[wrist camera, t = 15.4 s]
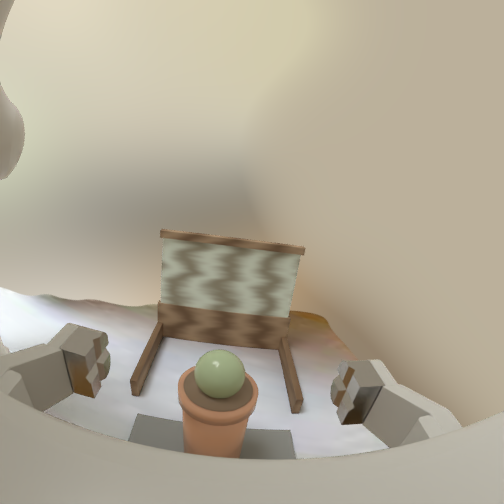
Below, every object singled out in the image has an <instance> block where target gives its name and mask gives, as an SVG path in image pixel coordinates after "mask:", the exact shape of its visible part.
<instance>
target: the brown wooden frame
mask: <svg viewBox="0 0 504 504" xmlns="http://www.w3.org/2000/svg"><path fill="white" fill-rule="evenodd" d="M160 237H161V238H163V252H162V274H161V275H162V276H161V301H159V302H158V323H157V325H156V327H155V329H154V331H153V333H152V335H151V337H150V339H149V341H148V343H147V345H146V347H145V349H144V351H143V353H142V355H141V358H140V360H139V362H138V364H137V366H136V368H135V370H134V373H133V375H132V377H131V379H130V384H131V391H132V395H134V396H139V394H140V392H141V389H142V387H143V384H144V381H145V379H146V376H147V374H148V371H149V369H150V366H151V364H152V362H153V359H154V357H155V354H156V352H157V349H158V347H159V345H160V342H161V340H162V337H163V336H165V337H171V338H178V339H184V340H191V341H198V342H206V343H214V344H223V345H232V346H241V347H252V348H264V349H277V350H279V355H280V360H281V364H282V369H283V374H284V379H285V383H286V388H287V393H288V397H289V402H290V407H291V412H292V413H299V411H300V408H301V405H302V402H303V396H302V392H301V388H300V385H299V381H298V377H297V374H296V370H295V366H294V363H293V359H292V355H291V352H290V348H289V344H288V341H287V333H288V328H289V324H290V319H291V318H290V316H288V315H289V310H290V305H291V301H292V296H293V291H294V286H295V281H296V276H297V271H298V266H299V261H300V256H301V255H304V252H305V248H304V247H302V246H295V245H288V244H280V243H272V242H265V241H257V240H248V239H241V238H233V237H224V236H217V235H209V234H200V233H192V232H184V231H175V230H167V229H162V230H161V231H160Z"/></svg>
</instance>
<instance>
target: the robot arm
mask: <svg viewBox="0 0 504 504" xmlns="http://www.w3.org/2000/svg"><path fill="white" fill-rule="evenodd" d="M13 2H14V0H0V38H1V35H2V31H3V28H4V25H5V22H6V20H7V17H8V14H9V12H10V9H11V7H12V5H13ZM24 136H25V133H24V123H23V120H22V117H21V114H20V113H19V111H18V109H17V107H16V106H15V105H14V104H13V103H12V102H11V101H10V100H9V99H8V97H7V96H6V94H5V92H4V90H3V88H2V86H1V84H0V180H2V179H5V178H7V177H8V175H9V174H10V173H11V172H12V171H13V169H14V168H15V166H16V164H17V162H18V160H19V158H20V155H21V153H22V149H23V145H24ZM107 345H108V336H107V334H106V333H105V332H101V331H98V330H94V329H90V328H87V327H83V326H79V325H76V324H72V323H67V324H66V325H65V326H64V327H63V328H62V329H61V330H60V331H59V332H58V333H57V334H56V335H55V336H54V338H53V339H52V340H51V341H50V342H49V343H48V344H47V345H46V344H40V345H37V346H34V347H30V348H27V349H24V350H20V351H17V352H14V353H10V351H9V349H8V348H7V347H5V346H4V345H3V342H2V340H1V337H0V504H504V411H503V412H500V413H498V414H496V415H494V416H491V417H489V418H487V419H484V420H482V421H479V422H477V423H474V424H472V425H469V426H466V427H463V428H462V426H461V425H460V424H459V422H458V421H457V420H456V418H455V417H454V416H453V414H452V413H451V412H450V410H449V409H447V408H445V407H443V406H441V405H439V404H437V403H435V402H433V401H431V400H430V399H428V398H426V397H424V396H422V395H420V394H418V393H416V392H414V391H412V390H411V389H409V388H407V387H405V386H403V385H398V384H397V382H396V381H395V379H394V378H393V377H392V375H391V374H390V372H389V371H388V370H387V368H386V367H385V365H384V364H383V362H382V361H380V360H366V361H342V362H341V363H340V365H339V367H338V372H339V375H338V376H337V377H336V378H335V379H334V380H333V383H332V386H331V399H332V402H333V404H334V405H336V406H337V407H338V410H337V412H336V413H337V415H338V418H339V420H340V423H341V425H350V424H362V425H364V426H365V427H366V428H367V429H368V430H369V431H371V432H372V433H373V434H374V435H375V436H376V437H378V438H379V439H380V440H381V441H382V442H383V443H385V444H386V445H387V446H388V447H389V448H388V449H383V450H377V451H372V452H366V453H359V454H352V455H344V456H335V457H324V458H310V459H283V460H266V459H239V458H225V457H214V456H205V455H197V454H189V453H183V452H176V451H171V450H165V449H160V448H155V447H150V446H145V445H141V444H137V443H133V442H129V441H125V440H121V439H117V438H114V437H110V436H107V435H104V434H100V433H97V432H94V431H91V430H88V429H85V428H82V427H79V426H76V425H74V424H71V423H68V422H66V421H63V420H61V419H58V418H56V417H53V416H51V415H48V414H46V413H44V412H42V411H44V410H46V409H48V408H49V407H51V406H53V405H54V404H56V403H58V402H60V401H61V400H63V399H65V398H66V397H68V396H70V395H71V394H73V392H74V393H77V394H81V395H84V396H88V397H91V398H95V397H96V395H97V393H98V391H99V389H100V388H101V382H100V381H101V380H103V379H105V378H106V377H107V375H108V373H109V369H110V353H109V352H108V351H107V349H106V346H107Z"/></svg>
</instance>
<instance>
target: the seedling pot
mask: <svg viewBox="0 0 504 504" xmlns="http://www.w3.org/2000/svg"><path fill="white" fill-rule="evenodd" d="M257 397H258V387H257V384H256V383H255V381H254V380H253V378H252V377H251V376H250V375H248V374H247V373H246V372H245V369H244V366H243V364H242V362H241V360H240V359H239V358H238V357H237V356H236V355H234V354H233V353H231V352H229V351H226V350H213V351H209V352H207V353H206V354H204V355H203V356H202V357H201V358H200V359H199V360H198V362H197V364H196V366H194V367H192V368H190V369H188V370H187V371H185V372H184V373H183V374H182V376H181V377H180V379H179V382H178V400H179V403H180V406H181V407H182V409H183V446H184V453H189V454H197V455H205V456H214V457H225V458H240V453H241V449H242V445H243V440H244V436H245V431H246V427H247V422H248V418H249V416H250V415H251V414H252V413H253V411H254V409H255V406H256V402H257Z"/></svg>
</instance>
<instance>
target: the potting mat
mask: <svg viewBox="0 0 504 504" xmlns="http://www.w3.org/2000/svg"><path fill="white" fill-rule="evenodd" d="M128 441H129V442H133V443H137V444H141V445H145V446H150V447H155V448H160V449H165V450H171V451H176V452H183V453H184V446H183V422H180V421H174V420H168V419H162V418H157V417H152V416H147V415H142V414H137V417H136V420H135V423H134V426H133V429H132V431H131V434H130V437H129V440H128ZM239 459H266V460H283V459H296V458H295V453H294V448H293V442H292V437H291V432H290V430H262V429H246V431H245V436H244V440H243V445H242V449H241V453H240V458H239Z"/></svg>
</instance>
